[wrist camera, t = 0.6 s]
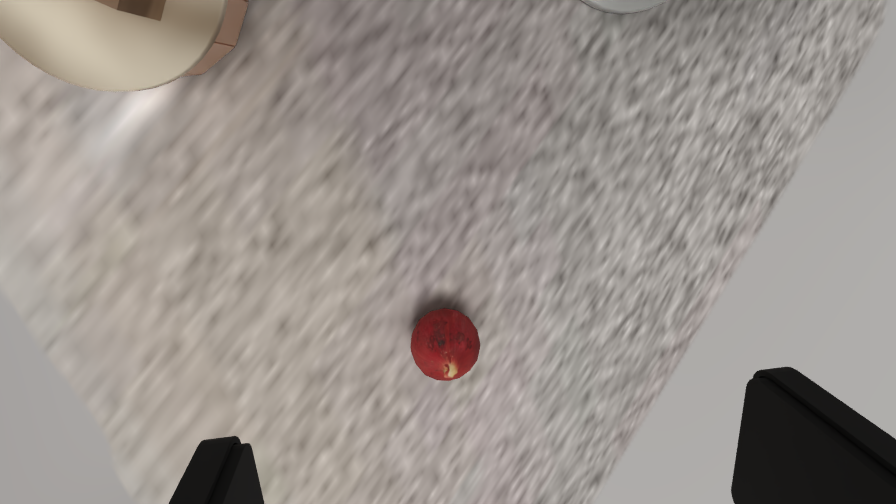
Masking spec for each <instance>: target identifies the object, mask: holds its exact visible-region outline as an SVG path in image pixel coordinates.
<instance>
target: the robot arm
mask: <svg viewBox="0 0 896 504" xmlns="http://www.w3.org/2000/svg"><path fill="white" fill-rule="evenodd" d="M581 1H583V2H585V3H586V4H588V5H590V6H591V7H593V8H596V9H598V10H601V11H604V12H607V13H617V14H627V13H636V12H640V11H644V10H648V9H651V8H653V7H655V6H657V5H660V4H662V3H664V2H666V1H667V0H581ZM731 493H732V497H733V501H734V503H735V504H896V439H895V438H893V437H892V436H890V435H889V434H888V433H886V432H884V431H883V430H881V429H880V428H879V427H877V426H876V425H875V424H873V423H872V422H870V421H869V420H867V419H866V418H865V417H863V416H861V415H860V414H859V413H857V412H856V411H854V410H853V409H852V408H850V407H849V406H847V405H846V404H844V403H843V402H842V401H840V400H839V399H837V398H836V397H834V396H833V395H831V394H830V393H829V392H827V391H826V390H824V389H823V388H821V387H820V386H819V385H817V384H816V383H814V382H813V381H811V380H810V379H809V378H807V377H806V376H804V375H803V374H801V373H800V372H798V371H797V370H795V369H793V368H791V367H781V368H773V369H765V370H759V371H757V372H756V373H755V374H754V376H753V379H751V380H749V382H748V383H747V386H746V393H745V399H744V407H743V413H742V420H741V427H740V433H739V440H738V448H737V453H736V461H735V468H734V474H733V482H732V487H731ZM169 504H264V500H263V496H262V491H261V487H260V482H259V478H258V473H257V469H256V464H255V460H254V456H253V451H252V448H251V445H250V444H249V443H245V444H241V442H240V439H239V438H238V437H236V436H232V437H224V438H216V439H208V440H203V441H201V442H200V444H199V445H198V447H197V449H196V451H195V453H194V455H193V457H192V459H191V461H190V463H189V465H188V467H187V469H186V471H185V473H184V475H183V476H182V478H181V480H180V482H179V484H178V486H177V488H176V490H175V492H174V494H173V496H172V498H171V500H170V502H169Z"/></svg>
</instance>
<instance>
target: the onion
mask: <svg viewBox="0 0 896 504" xmlns="http://www.w3.org/2000/svg"><path fill="white" fill-rule="evenodd" d="M479 349H480V341H479V336H478V332H477V329H476V328H475V326H474V325H473V323H472V322H471V320H470V319H469V318H468V317H467V316H465V315H464V314H462V313H461V312H459V311H456V310H451V309H446V308H443V309H439V310H435V311H430V312H429V313H428V314H426V315H425V316H424V317H422V318H421V319H420V320H419V321H418V323H417V325H416V327H415V329H414V331H413V333H412V338H411V352H412V355H413V358H414V360H415V363H416V364H417V366H418V367H419V368H420V369H421V371H422V372H423V373H424V374H425V375H426V376H429V377H431V378H434V379H436V380H446V381H449V380H453V379H457V378H460V377H461V376H463V375H464V374H465V373H467V372H468V371H470V369H471V368H472V367H473V365H474V364H475V362H476V361H477V359H478V354H479Z"/></svg>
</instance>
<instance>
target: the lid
mask: <svg viewBox="0 0 896 504" xmlns="http://www.w3.org/2000/svg"><path fill="white" fill-rule="evenodd" d="M227 4H228V0H0V38H1V39H2V40H3V41H4V42H5V43H6V44H7V45H8V46H10V47H11V48H12V49H13V50H14V51H15V52H16V53H17V54H19V55H20V56H21V57H23V58H24V59H26V60H27V61H28V62H30V63H31V64H32V65H34V66H36V67H37V68H39V69H41V70H42V71H44V72H46V73H48V74H49V75H52V76H54V77H56V78H58V79H60V80H63V81H65V82H68V83H71V84H74V85H77V86H80V87H84V88H89V89H94V90H99V91H112V92H121V91H140V90H146V89H151V88H156V87H159V86H162V85H165V84H168V83H170V82H172V81H174V80H176V79H178V78H180V77H182V76H183V75H184V74H186V73H187V72H188V71H190V70H191V69H193V68H194V67H195V66H196V65H197V64H198V63H199V62H200V61H201V60H202V59H203V58H204V57H205V55H206V54H207V53H208V51H209V50H210V49H211V47H212V46H213V44H214V42H215V40H216V38H217V36H218V34H219V32H220V29H221V27H222V24H223V21H224V18H225V13H226V8H227Z"/></svg>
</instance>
